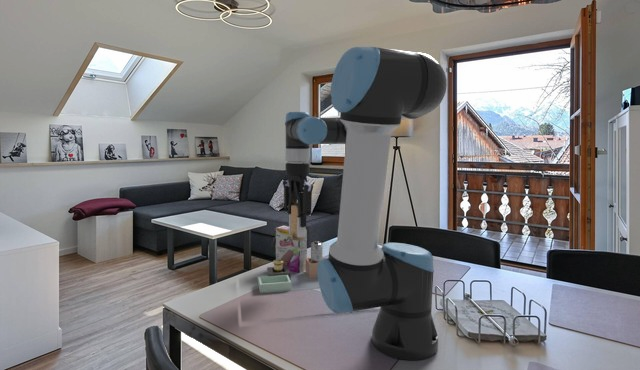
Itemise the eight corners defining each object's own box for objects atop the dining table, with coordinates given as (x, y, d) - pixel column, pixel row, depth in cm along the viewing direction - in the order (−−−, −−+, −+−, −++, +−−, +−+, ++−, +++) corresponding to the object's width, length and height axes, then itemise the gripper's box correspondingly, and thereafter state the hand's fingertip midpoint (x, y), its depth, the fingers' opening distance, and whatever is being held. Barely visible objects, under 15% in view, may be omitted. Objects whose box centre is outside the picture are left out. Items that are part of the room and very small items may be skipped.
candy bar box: (274, 271, 137) (274, 227, 136) (283, 267, 142) (283, 225, 140) (299, 277, 131) (299, 231, 129) (307, 273, 136) (307, 229, 134)
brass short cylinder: (284, 275, 125) (284, 262, 124) (273, 276, 124) (273, 263, 123) (283, 271, 128) (283, 259, 128) (272, 272, 127) (272, 259, 127)
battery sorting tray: (336, 289, 120) (336, 271, 119) (260, 296, 114) (260, 277, 113) (323, 272, 135) (323, 256, 134) (256, 278, 129) (256, 261, 129)
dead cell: (323, 275, 129) (323, 242, 128) (312, 276, 128) (312, 243, 127) (320, 271, 133) (320, 239, 132) (309, 272, 132) (309, 240, 131)
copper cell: (306, 239, 120) (306, 203, 118) (295, 241, 117) (295, 204, 116) (298, 236, 123) (299, 201, 121) (288, 238, 120) (288, 202, 119)
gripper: (324, 163, 113) (323, 239, 116) (292, 160, 126) (292, 228, 129) (303, 164, 108) (303, 243, 111) (273, 161, 121) (273, 231, 124)
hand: (297, 234), depth 120 cm, fingers closed on copper cell, 4 cm apart
